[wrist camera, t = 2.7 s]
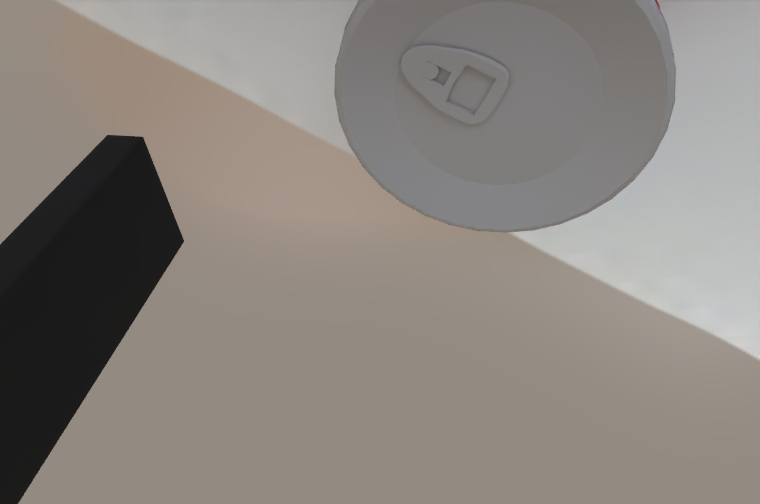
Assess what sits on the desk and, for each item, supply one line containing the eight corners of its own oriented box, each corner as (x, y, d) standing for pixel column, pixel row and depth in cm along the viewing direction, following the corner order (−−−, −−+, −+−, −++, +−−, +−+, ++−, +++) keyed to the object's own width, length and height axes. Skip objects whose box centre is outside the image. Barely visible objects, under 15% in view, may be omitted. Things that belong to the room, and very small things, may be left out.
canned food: (417, -181, 18) (342, -106, 11) (659, -137, 18) (764, -25, 10) (387, 42, 24) (322, 201, 16) (572, 80, 23) (598, 261, 16)
